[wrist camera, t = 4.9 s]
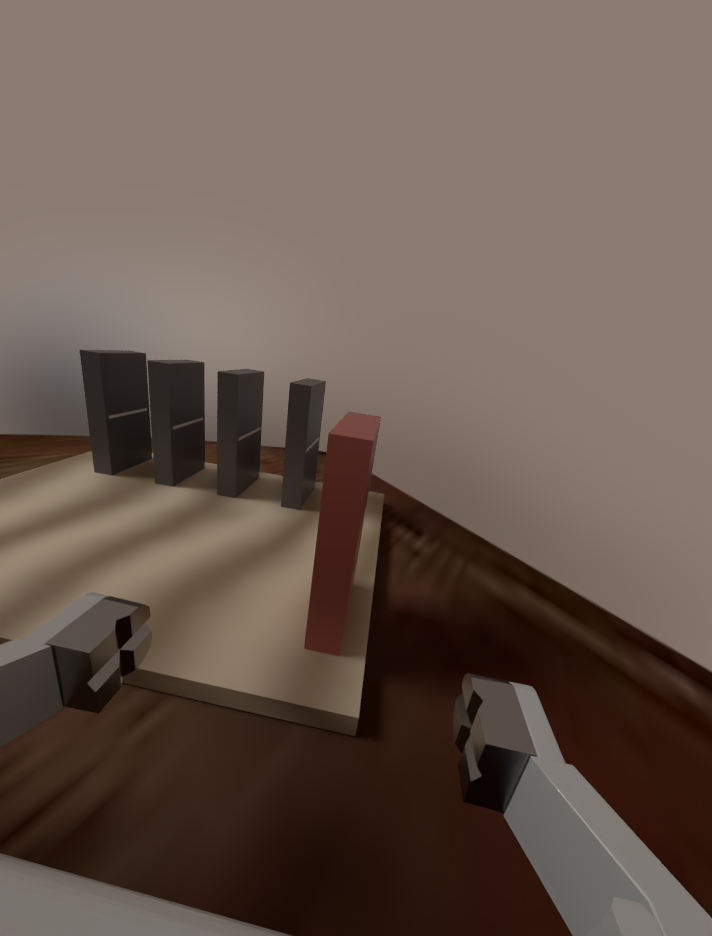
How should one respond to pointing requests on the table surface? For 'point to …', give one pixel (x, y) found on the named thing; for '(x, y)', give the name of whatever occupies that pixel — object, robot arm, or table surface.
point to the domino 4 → (302, 441)
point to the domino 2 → (177, 419)
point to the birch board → (190, 582)
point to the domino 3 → (238, 430)
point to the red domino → (340, 528)
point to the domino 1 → (117, 408)
